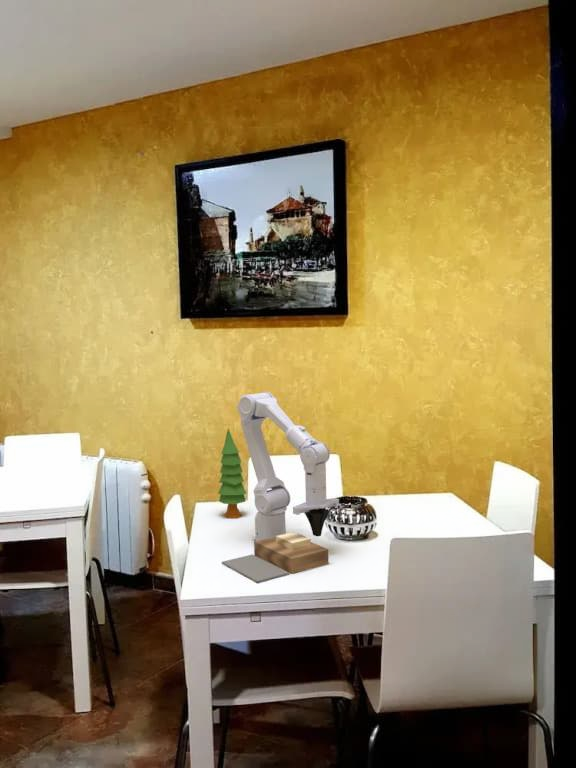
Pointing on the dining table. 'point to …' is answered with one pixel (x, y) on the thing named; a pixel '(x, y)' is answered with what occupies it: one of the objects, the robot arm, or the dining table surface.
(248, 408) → the robot arm
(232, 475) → the decorative tree
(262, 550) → the walnut deck
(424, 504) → the dining table surface
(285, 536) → the birch tile
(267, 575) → the rubber mat
